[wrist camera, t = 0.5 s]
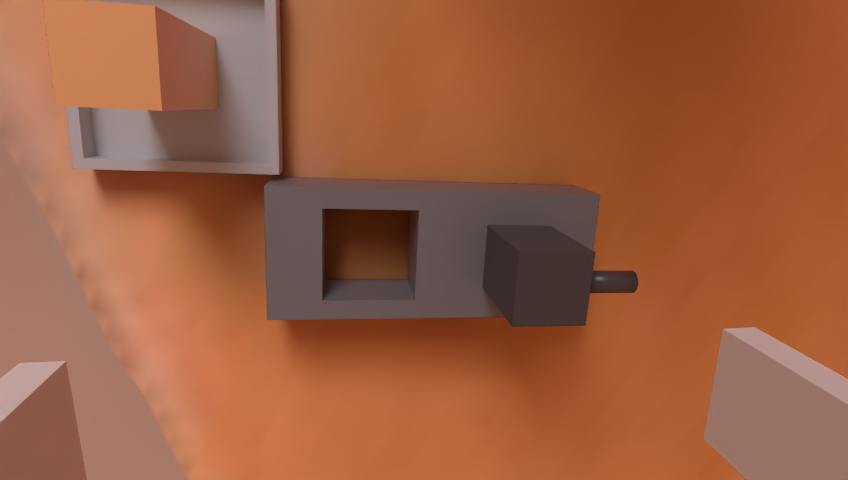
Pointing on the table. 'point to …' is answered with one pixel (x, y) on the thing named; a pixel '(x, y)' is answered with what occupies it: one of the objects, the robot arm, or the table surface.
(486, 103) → the table surface
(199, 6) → the tray
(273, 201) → the strip
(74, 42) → the plug
